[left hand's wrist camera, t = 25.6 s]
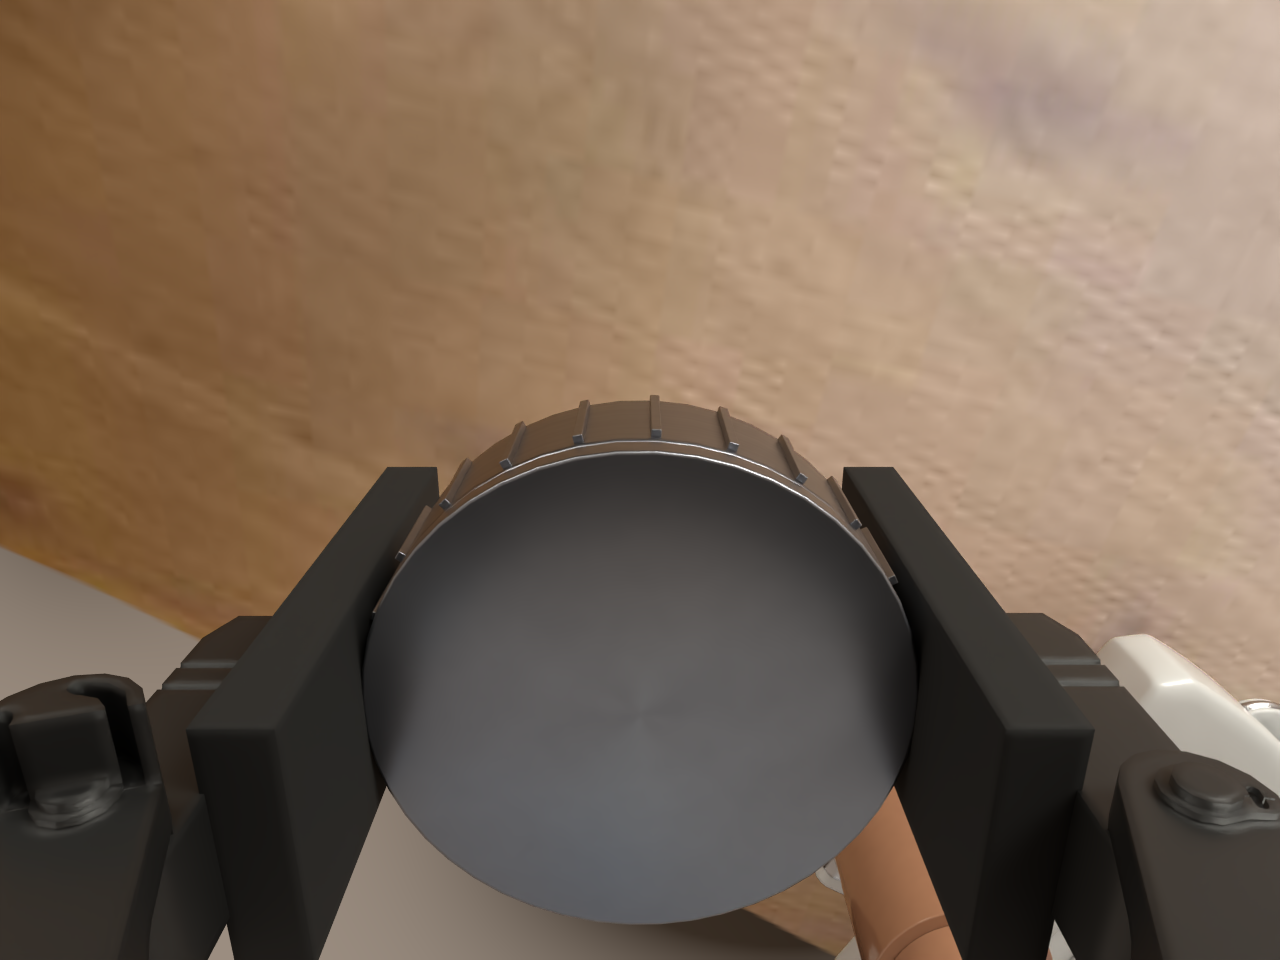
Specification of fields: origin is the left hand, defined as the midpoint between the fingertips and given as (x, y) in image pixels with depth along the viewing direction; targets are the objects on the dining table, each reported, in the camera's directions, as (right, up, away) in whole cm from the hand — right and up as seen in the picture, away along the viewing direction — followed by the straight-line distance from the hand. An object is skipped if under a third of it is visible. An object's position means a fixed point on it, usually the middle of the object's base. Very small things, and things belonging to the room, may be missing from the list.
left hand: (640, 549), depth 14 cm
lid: (0, -1, -4) cm, 4 cm away
